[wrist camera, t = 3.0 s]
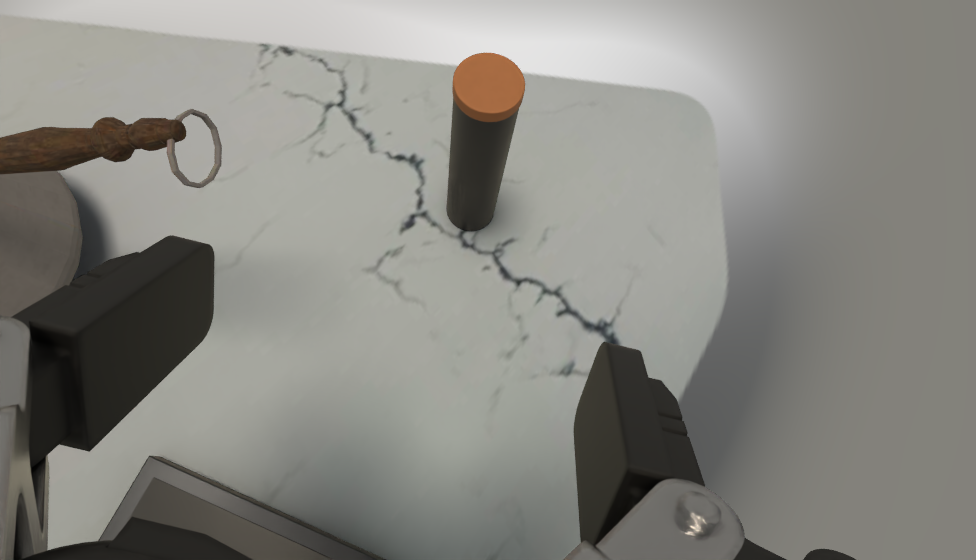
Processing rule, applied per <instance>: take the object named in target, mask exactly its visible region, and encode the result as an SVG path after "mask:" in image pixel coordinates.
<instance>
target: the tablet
mask: <svg viewBox="0 0 976 560" xmlns="http://www.w3.org/2000/svg"><path fill="white" fill-rule="evenodd" d="M131 517H136V518H140V519H144V520H149V521H153V522H157V523H161V524H166V525H170V526H174V527H178V528H182V529H187V530H191V531H195V532H199V533H204V534H206V535H208V536H210V537H212V538H214V539H216V540H218V541H219V542H221V543H223V544H225V545H227V546H229V547H231V548H232V549H234V550H236V551H238V552H240V553H242V554H244V555H246V556H247V557H249V558H251V559H253V560H386V559H383V558H381V557H379V556H377V555H375V554H372V553H370V552H368V551H366V550H364V549H361V548H359V547H357V546H355V545H353V544H350V543H348V542H346V541H344V540H342V539H339V538H337V537H335V536H333V535H331V534H329V533H326V532H324V531H322V530H320V529H318V528H315V527H313V526H311V525H309V524H307V523H304V522H302V521H300V520H298V519H296V518H293V517H291V516H289V515H287V514H285V513H282V512H280V511H278V510H276V509H274V508H271V507H269V506H267V505H265V504H263V503H260V502H258V501H256V500H254V499H252V498H249V497H247V496H245V495H243V494H241V493H238V492H236V491H234V490H232V489H230V488H228V487H225V486H223V485H221V484H219V483H217V482H214V481H212V480H210V479H208V478H206V477H203V476H201V475H199V474H197V473H195V472H192V471H190V470H188V469H186V468H184V467H181V466H179V465H177V464H175V463H173V462H170V461H168V460H166V459H164V458H162V457H159V456H149V457H148V459H147V460H146V462H145V464H144V465H143V467H142V469H141V471H140V472H139V474H138V476H137V477H136V479H135V481H134V482H133V484H132V486H131V487H130V489H129V491H128V492H127V494H126V496H125V497H124V499H123V501H122V502H121V504H120V506H119V507H118V509H117V511H116V512H115V514H114V516H113V517H112V519H111V521H110V522H109V524H108V526H107V527H106V529H105V531H104V532H103V534H102V536H101V537H100V539H99V541H106V540H113V539H114V538H115V537H116V536H117V535H118V533H119V532H120V531H121V530H122V528H123V527H124V526H125V525H126V523H127V522H128V521H129V520H130V518H131Z"/></svg>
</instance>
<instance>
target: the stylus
mask: <svg viewBox="0 0 976 560" xmlns="http://www.w3.org/2000/svg"><path fill="white" fill-rule="evenodd" d="M524 91H525V81H524V77H523V74H522V72H521V71H520V69H519V68H518V67H517V65H515V63H514V62H512V61H511V60H509V59H508V58H506V57H504V56H501V55H498V54H494V53H479V54H475V55H472V56H470V57H468V58H466V59H465V60H464V61H462V62H461V63H460V64H459V66H458V67H457V69H456V71H455V73H454V76H453V111H452V128H451V145H450V161H449V178H448V195H447V214H448V217H449V219H450V220H451V222H452V223H453V224H454V225H455V226H457V227H458V228H460V229H463V230H466V231H476V230H480V229H482V228H484V227H485V226H487V225H488V224H489V222H490V221H491V219H492V217H493V214H494V210H495V206H496V202H497V197H498V193H499V189H500V185H501V181H502V177H503V173H504V168H505V164H506V160H507V156H508V152H509V148H510V143H511V139H512V135H513V131H514V127H515V123H516V119H517V114H518V110H519V107H520V105H521V103H522V99H523V95H524Z"/></svg>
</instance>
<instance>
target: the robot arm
mask: <svg viewBox="0 0 976 560" xmlns="http://www.w3.org/2000/svg"><path fill="white" fill-rule="evenodd" d="M213 309H214V251H213V248H212V247H211V246H210V245H209V244H205V243H201V242H197V241H193V240H189V239H185V238H180V237H176V236H167V237H165V238H164V239H162V240H160V241H159V242H157V243H155V244H154V245H152V246H151V247H149V248H147V249H146V250H144V251H142V252H141V253H139V252H135V253H132V254H128V255H125V256H121V257H117V258H114V259H110V260H108V261H106V262H104V263H103V264H101V265H99V266H97V267H96V268H94V269H92V270H91V271H89V272H88V273H87V275H82V276H80V277H79V278H77V279H75V280H73V281H72V282H70V285H69V286H68V285H65V286H63V287H61V288H60V289H58V290H56V291H55V292H53V293H51V294H49V295H48V296H46V297H44V298H43V299H41V300H39V301H37V302H36V303H34V304H32V305H31V306H29V307H27V308H25V309H24V310H22V311H20V312H19V313H17V314H15V315H13V316H12V317H6V316H0V560H253V559H251V558H249V557H247V556H246V555H244V554H242V553H240V552H238V551H236V550H234V549H232V548H231V547H229V546H227V545H225V544H223V543H221V542H219V541H218V540H216V539H214V538H212V537H210V536H208V535H206V534H204V533H199V532H195V531H191V530H187V529H182V528H178V527H174V526H170V525H166V524H161V523H157V522H153V521H149V520H144V519H140V518H136V517H131V518H130V520H129V521H128V522H127V523H126V525H125V526H124V527H123V528H122V530H121V531H120V532H119V533H118V535H117V536H116V537H115V538H114V539H113V540H106V541H96V542H85V543H79V544H74V545H68V546H63V547H59V548H55V549H51V550H48V551H47V544H48V502H49V462H48V454H49V453H50V452H51V451H52V450H53V449H54V448H55V447H56V446H58V445H59V444H60V445H64V446H68V447H73V448H77V449H81V450H85V451H89V452H90V451H91V450H92V449H93V448H94V447H95V446H96V445H97V444H98V443H99V442H100V441H101V440H102V439H103V438H104V437H105V436H106V435H107V434H108V433H109V432H110V431H111V430H112V429H113V428H114V427H115V426H116V425H117V424H118V423H119V422H120V421H121V420H122V419H123V418H124V417H125V416H126V415H127V414H128V413H129V412H130V411H131V410H132V409H133V408H135V407H136V406H137V405H138V404H139V403H140V402H141V401H142V400H143V399H144V398H145V397H146V396H147V395H148V394H149V393H150V392H151V391H152V390H153V389H154V388H155V387H156V386H157V385H158V384H159V383H160V382H161V381H162V380H163V379H164V378H165V377H166V376H167V375H168V374H169V373H170V372H171V371H172V370H173V369H174V368H175V367H176V366H177V365H178V364H179V363H181V362H182V361H183V360H184V359H185V358H186V357H187V356H188V355H189V354H190V353H191V352H192V351H193V350H194V349H195V348H196V347H197V346H198V345H199V344H200V343H201V342H202V341H203V339H204V338H205V336H206V335H207V333H208V331H209V328H210V326H211V323H212V319H213ZM574 445H575V460H576V476H577V491H578V507H579V522H580V538H581V543H580V544H579V545H578V546H577V547H576V548H575V549H574V550H572V551H571V552H570V553H569V554H568V555H567V556H566V557H565V558H564V559H563V560H786V559H784V558H782V557H780V556H778V555H776V554H774V553H772V552H770V551H768V550H766V549H764V548H762V547H760V546H758V545H756V544H754V543H752V542H751V541H749V540H748V539H746V538H745V536H744V530H743V526H742V523H741V522H740V520H739V518H738V516H737V515H736V513H735V512H734V511H733V509H732V508H731V507H730V506H729V505H728V504H727V503H726V502H725V501H724V500H723V499H722V498H721V497H719V496H718V495H717V494H715V493H714V492H712V491H710V490H709V489H707V488H706V487H705V484H704V481H703V478H702V475H701V472H700V469H699V466H698V463H697V460H696V457H695V454H694V451H693V448H692V445H691V442H690V439H689V437H687V430H686V427H685V424H684V421H682V415H681V412H680V409H679V406H678V402H677V399H676V398H675V397H674V396H673V394H672V393H671V392H670V391H669V390H668V388H667V387H666V386H665V385H664V384H663V382H662V381H660V380H656V379H652V378H648V375H647V371H646V368H645V364H644V360H643V357H642V354H641V352H640V351H639V350H636V349H632V348H627V347H623V346H619V345H615V344H611V343H607V342H603V343H602V344H601V346H600V347H599V349H598V352H597V354H596V357H595V360H594V363H593V365H592V368H591V371H590V373H589V376H588V379H587V382H586V384H585V387H584V390H583V392H582V395H581V398H580V401H579V403H578V407H577V411H576V415H575V422H574ZM804 560H856V559H854V558H852V557H850V556H848V555H846V554H843V553H840V552H837V551H834V550H829V549H817V550H813V551H811V552H809V553H808V554H807V555H806V557H805V558H804Z"/></svg>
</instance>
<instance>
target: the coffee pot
mask: <svg viewBox="0 0 976 560" xmlns="http://www.w3.org/2000/svg"><path fill="white" fill-rule="evenodd" d="M190 114H192V115H195V116H198V117H200V118H202V120H203V121H204V122H205V123H206V125H207V126H208V127H209V129H210V130H211V134H212V137H213V141H214V145H215V164H214V166H213V168H212V170H211V172H210V174H209V176H208V177H207V178H206V179H205V180H203V181H202V182H201V183H194V182H190V181H189V180H188V179H187V178H186V177H185V176H184V175H183V174H182V173H181V171H180V170H179V168H178V164H177V160H176V156H175V142H178V141H182V140H183V139H185V137H186V129H185V126H184V125H183V123H182V120H183V119H184V118H185V117H187V116H188V115H190ZM165 147H167V155H168V159H169V163H170V166H171V170H172V172H173V174H174V175H175V176H176V177H177V178H178V179H179V180H180V181H181V182H182V183H183V184H184V185H186V186H191V187H196V188H201V187H204V186H205V185H207V184H208V183H210V182H211V181H212V180H214V178H215V176H216V174H217V172H218V170H219V169H220V167H221V151H222V145H221V142H220V138H219V134H218V130H217V127H216V126H215V125H214V123H213V122H212V121H211V120H210V118H209V117H208V116H207V114H204V113H202V112H199V111H196V110H194V109H190V110H187V111H185V112H184V113H182V114H180V115H178V116H177V117H176V118H175V120H168V119H166V118H141V119H139V120H138V121H136V122H134V123H133V124H129V125H126V124H125V123H124V122H122V121H121V120H118V119H116V118H114V117H105V118H102V119H100V120H98V121H97V122H96V123H95V124H94V126H93V127H92V128H56V127H42V128H38V129H34V130H30V131H26V132H22V133H18V134H14V135H10V136H6V137H2V138H0V316H6V317H12V316H13V315H15V314H17V313H19V312H20V311H22V310H24V309H25V308H27V307H29V306H31V305H32V304H34V303H36V302H37V301H39V300H41V299H43V298H44V297H46V296H48V295H49V294H51V293H53V292H55V291H56V290H58V289H60V288H61V287H63V286H65V285H68V286H69V285H70V282H72V279H73V277H74V275H75V273H76V271H77V268H78V266H79V260H80V253H81V247H82V240H83V237H82V231H81V225H80V219H79V212H78V207H77V202H76V201H75V199H74V197H73V195H72V193H71V191H70V189H69V188H68V186H67V184H66V182H65V180H64V178H63V177H62V175H61V174H60V173H59V172H57V171H59V170H65V169H67V168H70V167H72V166H75V165H78V164H81V163H84V162H87V161H90V160H93V159H96V158H99V157H103V158H105V159H108V160H110V161H113V162H121V161H126V160H127V159H129V158H130V157H131V156H132V154H133V152H134V150H135V149H144V150H147V151H154V150H159V149H162V148H165Z"/></svg>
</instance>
